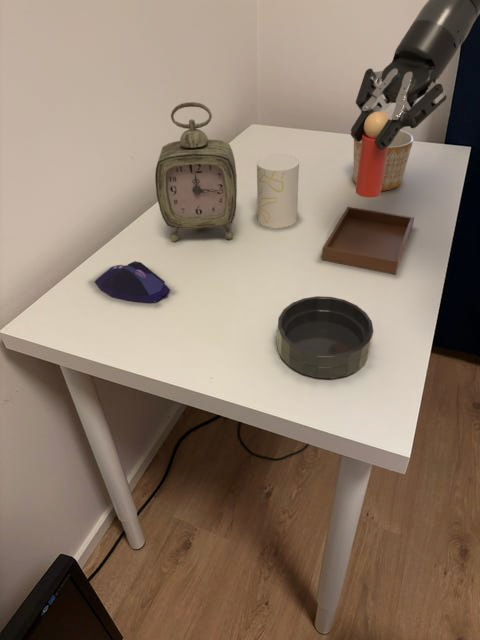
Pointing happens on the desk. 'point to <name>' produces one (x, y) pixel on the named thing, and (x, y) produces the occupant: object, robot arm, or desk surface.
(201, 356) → the desk surface
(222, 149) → the tabletop clock
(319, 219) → the desk surface
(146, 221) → the desk surface
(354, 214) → the tray
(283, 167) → the white cylinder
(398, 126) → the robot arm
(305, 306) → the pan
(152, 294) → the computer mouse
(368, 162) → the doll
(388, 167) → the planter
